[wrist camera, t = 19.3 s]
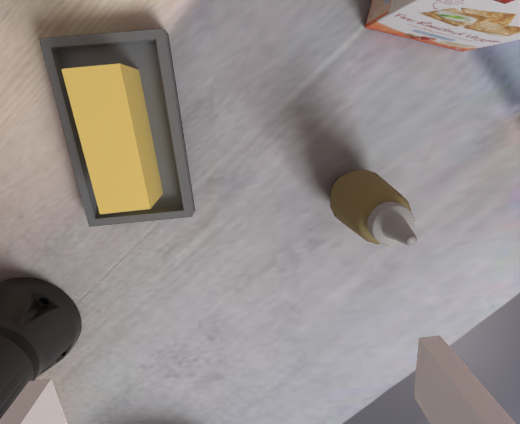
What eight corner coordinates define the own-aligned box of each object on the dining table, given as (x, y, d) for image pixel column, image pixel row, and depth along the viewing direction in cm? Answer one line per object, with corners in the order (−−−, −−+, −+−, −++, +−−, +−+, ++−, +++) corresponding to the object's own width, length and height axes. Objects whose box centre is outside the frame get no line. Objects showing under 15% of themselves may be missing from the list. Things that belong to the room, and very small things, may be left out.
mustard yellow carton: (119, 198, 46) (99, 214, 39) (90, 74, 41) (61, 68, 34) (163, 193, 46) (150, 208, 39) (139, 69, 41) (119, 63, 34)
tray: (98, 219, 47) (89, 226, 45) (53, 43, 40) (39, 38, 37) (195, 210, 48) (192, 216, 45) (168, 34, 41) (162, 28, 38)
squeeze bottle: (372, 157, 47) (448, 189, 30) (380, 209, 50) (455, 264, 33) (318, 173, 47) (362, 212, 30) (329, 223, 50) (376, 286, 33)
